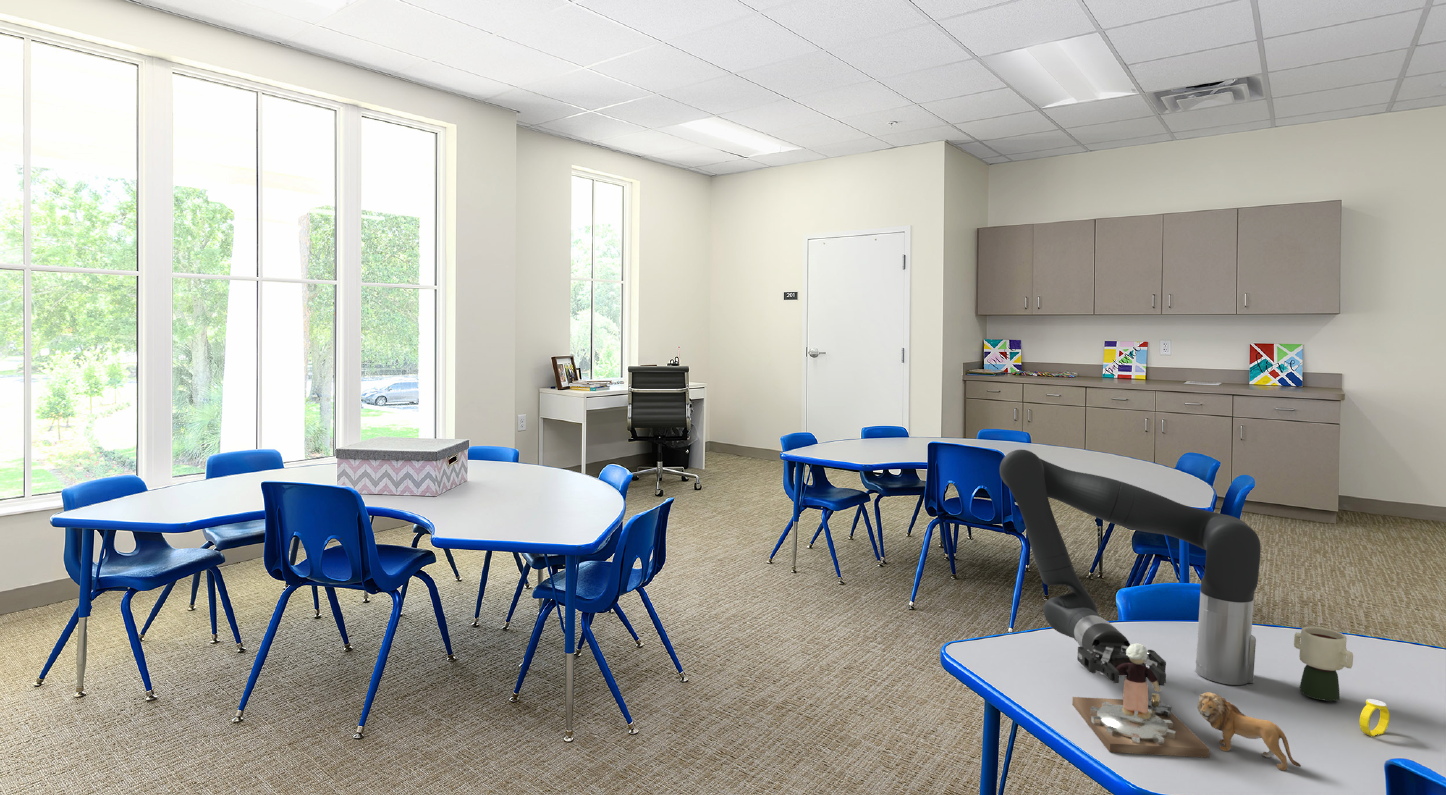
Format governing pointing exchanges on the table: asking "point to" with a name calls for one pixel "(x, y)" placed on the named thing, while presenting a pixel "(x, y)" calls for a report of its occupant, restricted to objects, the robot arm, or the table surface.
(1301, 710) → the table surface
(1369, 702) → the watch
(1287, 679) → the table surface
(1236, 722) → the lion figurine
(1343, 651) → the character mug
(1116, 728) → the gear
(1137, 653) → the grandmother figurine
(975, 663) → the table surface
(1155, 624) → the table surface
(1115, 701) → the gear board
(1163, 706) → the gear
